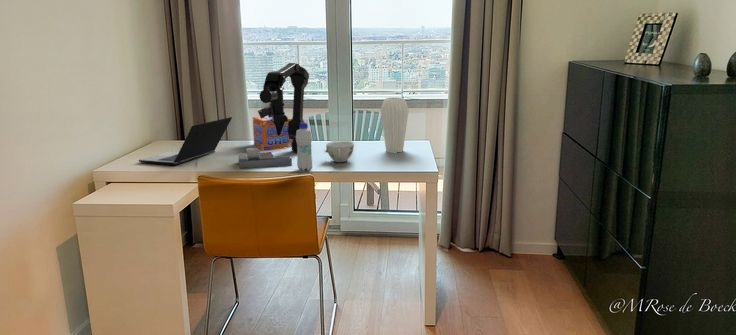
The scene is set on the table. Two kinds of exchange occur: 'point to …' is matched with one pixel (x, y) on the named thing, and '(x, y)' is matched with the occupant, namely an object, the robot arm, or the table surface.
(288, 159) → the vise
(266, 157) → the panel
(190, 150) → the laptop
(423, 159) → the table surface
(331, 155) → the teacup
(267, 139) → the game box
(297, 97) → the robot arm
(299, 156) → the bottle
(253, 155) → the block
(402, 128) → the vase
